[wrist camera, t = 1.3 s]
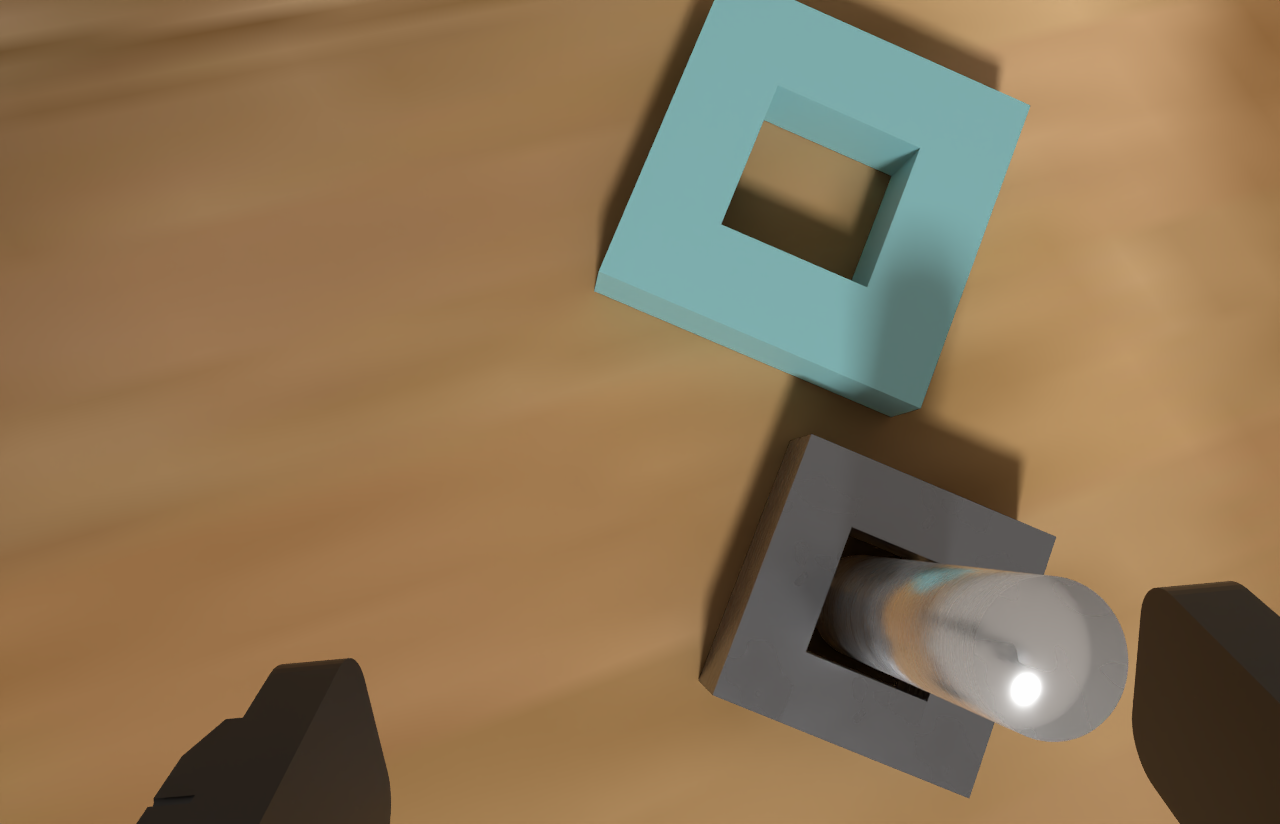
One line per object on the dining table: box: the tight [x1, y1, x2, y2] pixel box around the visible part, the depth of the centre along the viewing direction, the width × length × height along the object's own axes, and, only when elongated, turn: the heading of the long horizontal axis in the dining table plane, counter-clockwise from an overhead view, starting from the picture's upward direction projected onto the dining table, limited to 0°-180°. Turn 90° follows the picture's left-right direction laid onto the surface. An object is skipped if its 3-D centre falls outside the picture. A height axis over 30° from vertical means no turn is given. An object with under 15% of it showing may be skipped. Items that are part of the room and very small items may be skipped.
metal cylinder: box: [816, 555, 1128, 742], centre depth 30 cm, size 4×4×14 cm
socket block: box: [699, 434, 1056, 798], centre depth 35 cm, size 10×10×3 cm
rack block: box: [594, 0, 1030, 417], centre depth 37 cm, size 13×13×3 cm
